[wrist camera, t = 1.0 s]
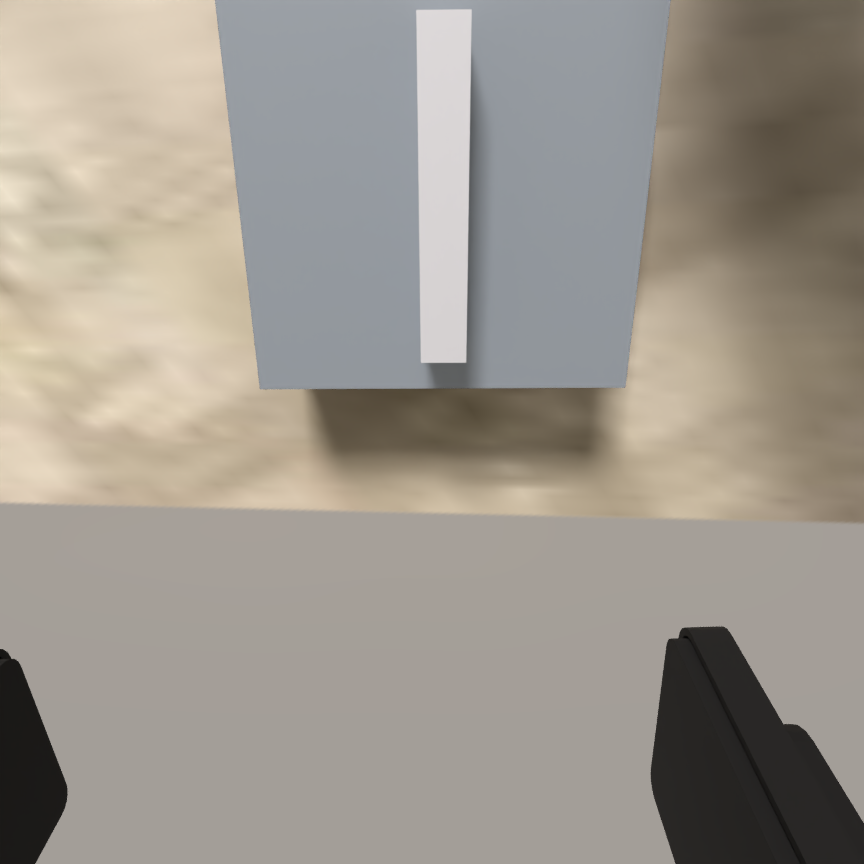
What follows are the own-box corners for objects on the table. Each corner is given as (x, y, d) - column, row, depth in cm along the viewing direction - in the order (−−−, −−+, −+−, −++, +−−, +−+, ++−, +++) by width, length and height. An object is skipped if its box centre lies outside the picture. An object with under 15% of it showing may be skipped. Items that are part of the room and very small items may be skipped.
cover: (219, -42, 21) (174, -79, 17) (666, -46, 21) (715, -83, 17) (265, 380, 27) (239, 419, 23) (618, 379, 27) (648, 417, 23)
